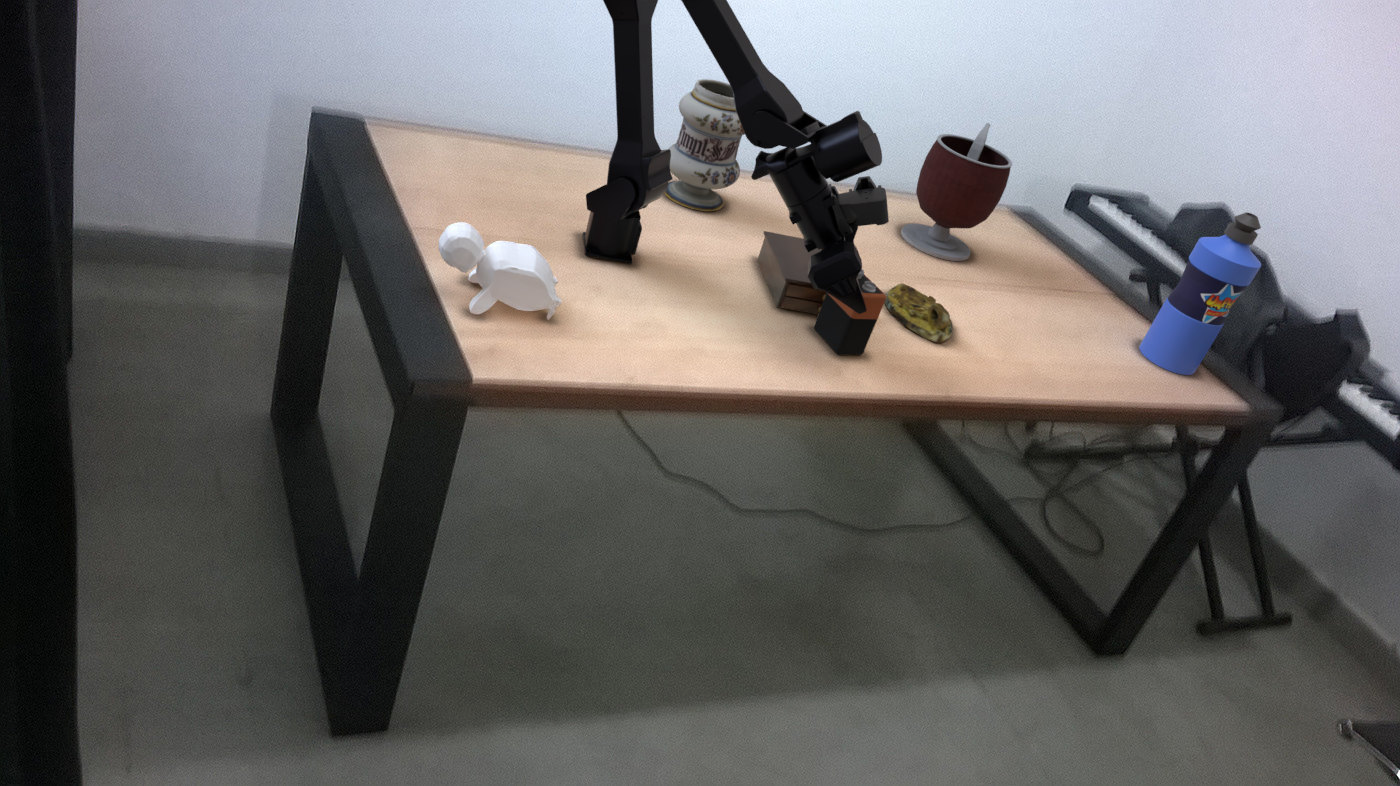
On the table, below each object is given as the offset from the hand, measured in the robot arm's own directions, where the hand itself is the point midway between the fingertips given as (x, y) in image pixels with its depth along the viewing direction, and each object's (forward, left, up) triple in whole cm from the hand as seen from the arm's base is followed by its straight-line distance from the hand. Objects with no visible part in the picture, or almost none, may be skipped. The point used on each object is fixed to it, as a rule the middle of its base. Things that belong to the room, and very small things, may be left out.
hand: (861, 296), depth 137 cm
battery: (-1, 0, -7) cm, 7 cm away
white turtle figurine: (-46, -4, -7) cm, 46 cm away
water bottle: (+59, +13, -7) cm, 61 cm away
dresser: (-2, +14, -7) cm, 16 cm away
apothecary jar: (-15, +40, -7) cm, 44 cm away
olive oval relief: (+15, +12, -7) cm, 21 cm away
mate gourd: (+29, +42, -7) cm, 52 cm away
